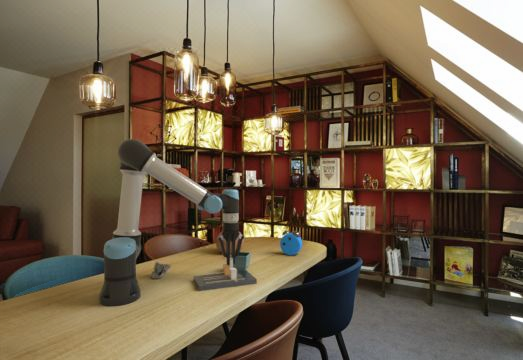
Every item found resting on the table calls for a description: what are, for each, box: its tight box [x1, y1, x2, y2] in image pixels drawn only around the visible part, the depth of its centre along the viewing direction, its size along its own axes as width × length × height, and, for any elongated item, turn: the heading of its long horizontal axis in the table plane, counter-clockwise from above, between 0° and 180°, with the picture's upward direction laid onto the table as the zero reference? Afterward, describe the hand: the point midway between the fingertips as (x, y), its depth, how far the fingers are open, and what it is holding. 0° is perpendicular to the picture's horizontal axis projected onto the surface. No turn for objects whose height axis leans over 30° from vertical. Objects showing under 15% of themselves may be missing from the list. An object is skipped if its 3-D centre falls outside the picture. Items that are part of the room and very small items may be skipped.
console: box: [193, 269, 258, 292], centre depth 148 cm, size 26×15×3 cm, turn 111°
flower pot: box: [230, 251, 252, 271], centre depth 165 cm, size 9×9×9 cm
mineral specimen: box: [150, 261, 172, 280], centre depth 157 cm, size 10×8×10 cm
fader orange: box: [222, 263, 230, 275], centre depth 152 cm, size 3×3×4 cm
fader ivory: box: [229, 268, 237, 279], centre depth 146 cm, size 3×3×4 cm
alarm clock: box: [279, 230, 303, 256], centre depth 200 cm, size 13×6×15 cm, turn 66°
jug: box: [215, 221, 245, 255], centre depth 206 cm, size 18×18×20 cm
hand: (230, 271), depth 153 cm, fingers closed
